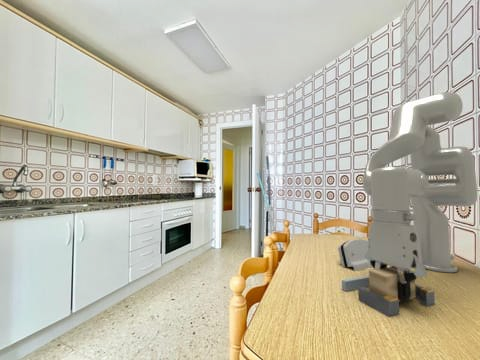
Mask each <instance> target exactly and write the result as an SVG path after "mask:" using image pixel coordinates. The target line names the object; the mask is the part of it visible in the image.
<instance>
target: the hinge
mask: <svg viewBox="0 0 480 360" xmlns="http://www.w3.org/2000/svg"><path fill="white" fill-rule="evenodd" d="M337 250H338V254H339V255H338V256H339V258H340V260H339V261H340V264H341V267H342V268H346V267H348V268H350V267H352V268H353V271H354V272H358V271H361V270H362V271H363V270H366V269H370V268H373V267H372V265H371V264H370V262H369V261H368V260H367V259H366V258H365V254H366V253H367V251H368V240H366V239H359V238H358V239H357V238H355V239H349V240H347V241H344V242H343V243H340V244H339V245H338V246H337Z"/></svg>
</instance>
